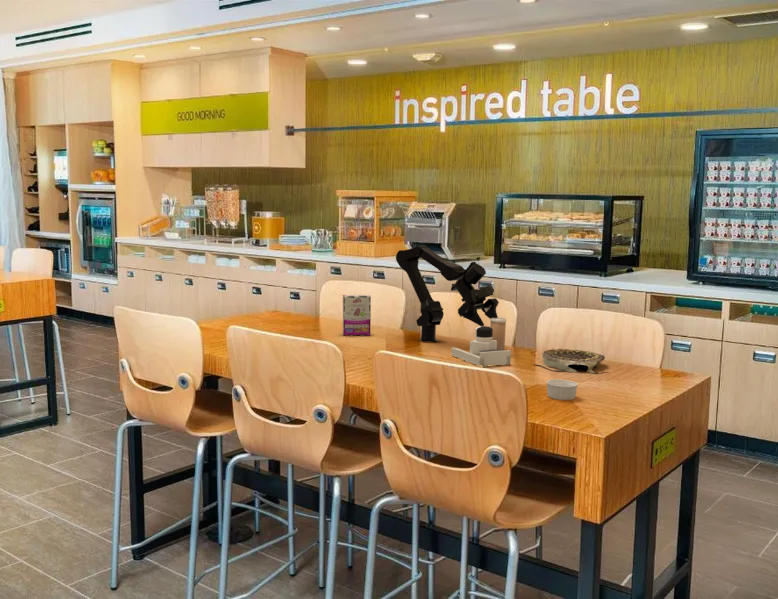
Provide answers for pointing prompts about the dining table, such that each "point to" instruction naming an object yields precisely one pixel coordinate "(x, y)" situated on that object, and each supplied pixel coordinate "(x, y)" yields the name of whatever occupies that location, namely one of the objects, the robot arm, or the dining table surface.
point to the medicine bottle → (482, 340)
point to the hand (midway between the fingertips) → (490, 324)
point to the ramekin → (561, 389)
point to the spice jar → (498, 331)
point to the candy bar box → (356, 314)
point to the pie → (571, 359)
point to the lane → (484, 356)
